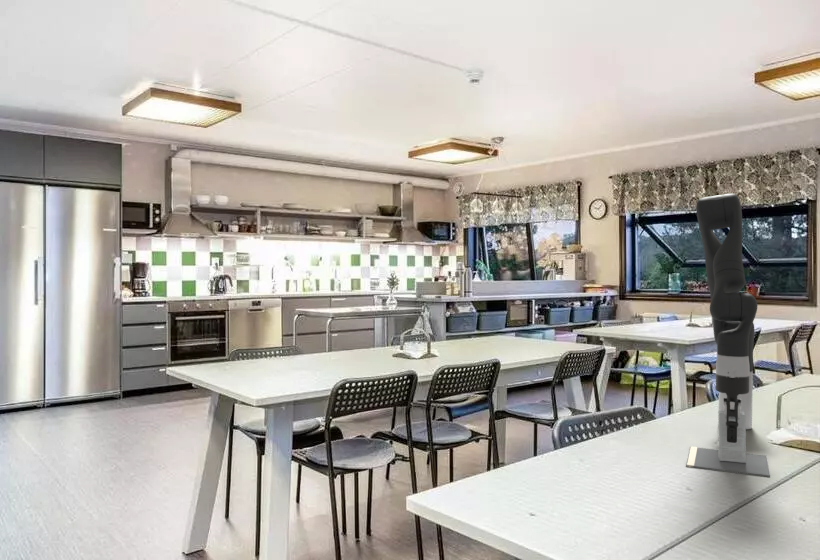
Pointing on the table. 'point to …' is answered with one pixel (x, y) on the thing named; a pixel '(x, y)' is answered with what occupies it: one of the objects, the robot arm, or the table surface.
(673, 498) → the table surface
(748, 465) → the mat
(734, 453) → the skincare box
